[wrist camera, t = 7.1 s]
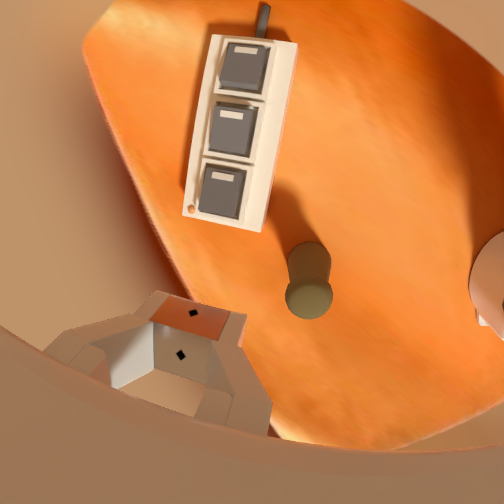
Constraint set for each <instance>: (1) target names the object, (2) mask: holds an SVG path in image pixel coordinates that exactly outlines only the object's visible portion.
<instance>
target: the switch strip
mask: <svg viewBox="0 0 504 504" xmlns="http://www.w3.org/2000/svg"><path fill="white" fill-rule="evenodd" d="M270 10H271V6H269V5H262V7H261V11H260V16H259V20H258V25H257V29H256V34H255V38H254V37H244V36H231V35H214V34H212V38H211V42H210V47H209V51H208V56H207V61H206V66H205V71H204V76H203V81H202V86H201V91H200V97H199V102H198V108H197V113H196V119H195V125H194V132H193V138H192V144H191V151H190V158H189V165H188V172H187V180H186V188H185V196H184V204H183V213H182V215H183V216H188V217H192V218H197V219H201V220H206V221H210V222H215V223H220V224H224V225H229V226H233V227H237V228H242V229H246V230H251V231H255V232H259V233H260V232H261V230H262V228H263V226H264V224H265V220H266V215H267V210H268V205H269V200H270V195H271V190H272V185H273V180H274V175H275V170H276V165H277V160H278V155H279V150H280V145H281V140H282V135H283V130H284V125H285V120H286V115H287V110H288V105H289V99H290V94H291V89H292V84H293V79H294V74H295V68H296V63H297V58H298V53H299V52H298V44H297V43H291V42H285V41H278V40H271V39H264V38H265V33H266V29H267V24H268V19H269V15H270ZM229 44H237V45H247V46H256V47H264V48H266V51H267V57H266V61H265V65H264V69H263V73H262V76H261V80H260V84H259V88H258V90H251V89H244V88H236V87H228V86H222V85H221V83H220V82H219V77H220V73H221V70H222V67H223V63H224V60H225V57H226V54H227V50H228V47H229ZM215 105H227V106H234V107H241V108H248V109H254V117H253V123H252V130H251V137H250V143H249V150H248V152H247V153H246V154H240V153H234V152H229V151H223V150H217V149H210V138H211V129H212V120H213V111H214V106H215ZM207 167H208V168H213V169H219V170H225V171H230V172H235V173H240V174H243V175H244V179H243V183H242V188H241V192H240V197H239V201H238V206H237V210H236V215H235V217H230V216H225V215H220V214H216V213H211V212H206V211H202V210H198V206H199V201H200V196H201V192H202V187H203V183H204V178H205V174H206V169H207Z"/></svg>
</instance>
